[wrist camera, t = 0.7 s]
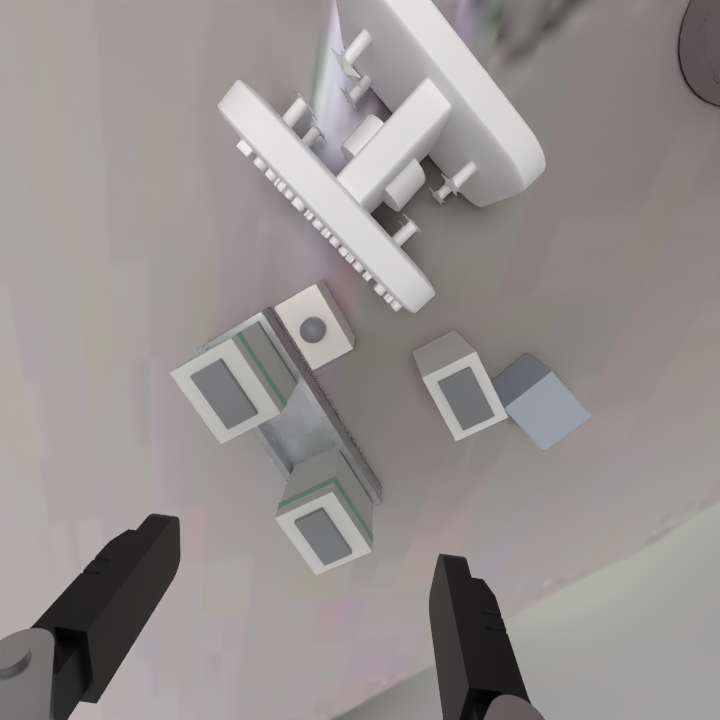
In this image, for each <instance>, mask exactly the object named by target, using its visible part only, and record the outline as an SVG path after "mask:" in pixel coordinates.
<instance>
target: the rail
mask: <svg viewBox="0 0 720 720" xmlns="http://www.w3.org/2000/svg"><path fill="white" fill-rule="evenodd" d="M257 321H259V322H260V324H261V325H262V327H263V329H264V330H265V332H266V333H267V335H268V336H269V338H270V340H271V341H272V343H273V344H274V346H275V347H276V349H277V351H278V352H279V354H280V355H281V357H282V359H283V360H284V362H285V363H286V365H287V366H288V368H289V370H290V371H291V373H292V374H293V376H294V377H295V379H296V381H297V382H298V384H297V385H296V387H295V389H294V391H293V392H292V394H291V396H290V398H289V400H288V401H287V405H286V407H285V408H284V409H283V410H282V412H281V414H279V415H277V416H275V417H273V418H271V419H269V420H267V421H265V422H263V423H261V424H259V425H258V426H256V427H254V428H252V431H253V432H254V433H255V435H256V436H257V438H258V439H259V441H260V442H261V444H262V445H263V446H264V448H265V449H266V451H267V452H268V454H269V455H270V457H271V458H272V459H273V461H274V462H275V464H276V465H277V467H278V468H279V470H280V471H281V472H282V474H283V475H284V477H285V478H286V480H287V481H289V478H290V475H291V473H292V470H293V467H294V466H295V465H297V464H299V463H301V462H304V461H306V460H308V459H310V458H312V457H314V456H316V455H318V454H320V453H322V452H324V451H326V450H328V449H330V448H332V447H334V446H336V445H338V447H339V448H340V450H341V452H342V453H343V455H344V456H345V458H346V459H347V461H348V463H349V464H350V466H351V467H352V469H353V471H354V472H355V474H356V475H357V477H358V478H359V480H360V482H361V483H362V485H363V486H364V488H365V489H366V491H367V493H368V494H369V496H370V497H371V499H372V501H373V502H374V504H375V505H376V506H377V505H379V504H381V503H382V497H381V486H380V484H379V483H378V481H377V480H376V478H375V476H374V475H373V473H372V472H371V470H370V468H369V467H368V465H367V464H366V462H365V460H364V459H363V457H362V455H361V454H360V452H359V451H358V449H357V447H356V446H355V444H354V443H353V441H352V439H351V438H350V436H349V434H348V433H347V431H346V430H345V428H344V426H343V425H342V423H341V422H340V420H339V418H338V417H337V415H336V414H335V412H334V410H333V409H332V407H331V405H330V404H329V402H328V401H327V399H326V397H325V396H324V394H323V393H322V391H321V389H320V388H319V386H318V384H317V383H316V381H315V380H314V378H313V376H312V375H311V373H310V372H309V370H308V368H307V367H306V365H305V363H304V362H303V360H302V359H301V357H300V355H299V354H298V352H297V351H296V349H295V347H294V346H293V344H292V343H291V341H290V339H289V338H288V336H287V334H286V333H285V331H284V330H283V328H282V326H281V325H280V323H279V322H278V320H277V318H276V317H275V315H274V313H273V312H272V310H271V309H270V307H268V308H267V309H265V310H263V311H261V312H260V313H258V314H256V315H255V316H253V317H251V318H249V319H248V320H246V321H244V322H242V323H241V324H239V325H237V326H236V327H234V328H232V329H230V330H229V331H227V332H225V333H223V334H222V335H220V336H218V337H216V338H215V339H213V340H211V341H210V342H208V343H206V344H204V345H203V346H201V347H199V348H197V349H196V350H197V351H198V353H199V354H202V353H203V352H205V351H207V350H208V349H210V348H211V347H213V346H215V345H217V344H218V343H220V342H222V341H224V340H225V339H227V338H229V337H231V336H232V335H234V334H236V333H237V332H239V331H241V330H243V329H244V328H246V327H248V326H250V325H251V324H253V323H255V322H257Z"/></svg>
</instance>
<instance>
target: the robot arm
mask: <svg viewBox="0 0 720 720" xmlns="http://www.w3.org/2000/svg"><path fill="white" fill-rule="evenodd" d="M680 59H681V65H682V70H683V72H684V74H685V77H686V79H687V82H688V83H689V84H690V86H691V87H692V88H693V90H694V91H695V92H696V93H697V94H698V95H699V96H701V97H702V98H703V99H705V100H706V101H708V102H711V103H713V104H716V105H718V106H720V0H692V1H691V3H690V5H689V8H688V10H687V13H686V15H685V18H684V21H683V26H682V30H681V35H680ZM179 562H180V523H179V518H178V517H175V516H168V515H160V514H151V515H149V516H148V517H147V518H146V519H145V521H144V522H143V523H142V524H141V525H140V526H139V528H138V529H137V530H129V529H128V530H127V531H125V532H123V533H122V534H120V535H119V536H117V537H116V538H114V539H113V540H111V541H110V542H109V543H108V544H107V545H106V546H105V547H104V548H103V549H102V550H101V551H100V553H99V554H98V555H97V556H96V557H95V560H92V561H91V562H90V564H89V565H88V566H87V567H86V568H85V569H84V571H83V573H80V575H79V576H78V577H77V578H76V579H75V580H74V581H73V582H72V583H71V584H70V586H69V587H68V588H67V589H66V590H65V591H64V592H63V593H62V594H61V595H60V597H59V598H58V599H57V600H56V601H55V602H54V603H53V604H52V605H51V606H50V608H49V609H48V610H47V611H46V612H45V613H44V614H43V615H42V616H41V617H40V619H39V620H38V621H37V622H36V623H35V624H34V625H33V626H32V627H31V628H30V629H25V630H22V631H19V632H16V633H14V634H11V635H9V636H7V637H5V638H3V639H2V640H0V720H68V718H69V716H70V715H71V713H72V712H73V710H74V709H75V707H76V706H77V704H78V703H79V701H82V702H89V703H96V704H97V702H98V700H99V699H100V697H101V695H102V694H103V692H104V691H105V689H106V687H107V686H108V684H109V682H110V681H111V679H112V678H113V676H114V674H115V673H116V671H117V669H118V668H119V666H120V665H121V663H122V661H123V660H124V658H125V657H126V655H127V653H128V652H129V650H130V648H131V647H132V645H133V644H134V642H135V640H136V639H137V637H138V635H139V634H140V632H141V631H142V629H143V627H144V626H145V624H146V622H147V621H148V619H149V618H150V616H151V614H152V613H153V611H154V610H155V608H156V606H157V605H158V603H159V601H160V600H161V598H162V597H163V595H164V593H165V592H166V590H167V588H168V587H169V585H170V584H171V582H172V580H173V579H174V577H175V575H176V572H177V569H178V566H179ZM429 615H430V623H431V631H432V638H433V646H434V653H435V661H436V668H437V676H438V683H439V691H440V698H441V706H442V713H443V720H545V719H544V718H543V716H542V715H541V714H540V713H539V712H538V711H537V709H536V708H534V707H533V706H532V704H531V702H530V700H529V698H528V695H527V692H526V689H525V686H524V683H523V680H522V677H521V674H520V671H519V668H518V665H517V662H516V658H515V656H514V652H513V649H512V646H511V643H510V640H509V637H508V634H506V628H505V625H504V622H503V619H502V618H501V613H500V610H499V606H498V603H497V600H496V597H495V595H494V594H493V592H492V591H491V590H490V588H489V587H488V586H487V584H486V583H485V581H484V580H483V579H477V578H471V574H470V571H469V567H468V563H467V560H466V558H465V557H460V556H453V555H445V554H439V556H438V560H437V564H436V568H435V573H434V577H433V582H432V586H431V590H430V597H429Z"/></svg>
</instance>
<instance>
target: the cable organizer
mask: <svg viewBox="0 0 720 720" xmlns="http://www.w3.org/2000/svg"><path fill="white" fill-rule="evenodd" d="M336 1H337V8H338V15H339V21H340V28H341V35H342V41H343V45H344V48H345V52H344V54H343V52H342V50H341V56H340V55H339V54H338V53H336V52H335V51H334V50H333V49H332V50H333V52H334V54H335V56H336V58H337V60H338V62H339V64H340V66H341V68H342V70H343V72H344V74H345V75H346V76H347V77H349V78H350V79H351V80H352V81H353V82H354V83H355V84H356V86H355V87H354V88H353V89H352V90H351V92H350V93H348V92H347V90H346V88H345V91H344V90H343V89H341V88H340V89H341V90H342V92H343V94H344V95H345V97H346V99H347V102H349V103H350V104H351V105H352V106H353V107H354V108H355V109H356V107H355V104H357V103H356V102H357V101H358V100H359V99H360V98H361V96H362V95H363V94H364V93H365V92H366V91H367V89H368V88H369V87H371V88H372V89H373V91H374V92H375V93H376V94H377V95H378V97H379V98H380V99H381V100H382V101H383V102H384V104H385V105H386V106H387V107H388V108H389V110H390V111H391V112H392V113H393V114H392V115H391V116H390V118H389V119H388V120H387V121H386V122H385V123H383V122H382V121H381V120H380V119H379V118H377V117H376V116H374V115H368V116H367V118H366V119H365V120H364V121H363V122H362V123H361V124H360V125H359V127H358V128H357V129H356V130H355V131H354V132H353V133H352V135H351V136H350V137H349V138H348V139H347V140H346V141H345V142H344V144H343V145H342V146H341V150H342V152H343V154H344V156H345V158H346V159H347V161H348V162H349V163H348V164H347V165H346V166H345V167H344V169H343V170H342V171H341V172H340V173H339V174H338V175H337V177H335V176H334V174H333V173H332V172H331V171H330V170H329V169H328V168H327V167H326V166H325V165H324V164H323V162H322V161H321V160H320V159H319V158H318V157H317V156H316V155H315V154H314V153H313V152H312V150H311V149H310V148H309V147H310V146H311V145H312V144H313V143H314V142H315V140H316V139H317V138H318V137H319V136H321V137H322V138H323V139H324V140H325V138H324V136H323V134H322V132H321V131H320V130H319V129H318V128H317V127H316V126H315V125H314V124H312V123H310V124H311V125H312V126H313V127H312V128H311V129H310V130H309V131H308V133H307V134H306V135H305V136H304V137H303V138H302V140H301V138H300V137H299V136H298V135H297V134H296V133H295V132H294V131H293V130H292V129H291V128H292V127H293V126H294V125H295V124H296V122H297V121H298V120H299V119H300V118H301V116H302V115H303V114H304V113H305V112H306V110H308V111H310V113H311V114H312V115H313V116H314V117H315V115H314V114H313V112H312V111H313V110H312V109H311V107H310V106H309V104H308V103H307V101H306V100H305V99H304V98H303V97H302V96H301V95H300V94H299V93H298V95H297V94H296V93H295V92H294V93H295V94H296V95H297V97H298V99H297V100H296V101H295V102H294V104H293V105H292V106H291V107H290V108H289V110H288V111H287V112H286V113H285V115H284V116H283V117H282V118H281V117H280V116H279V114H278V113H277V112H276V111H275V110H274V109H273V108H272V107H271V106H270V105H269V104H268V103H267V102H266V101H265V100H264V99H263V98H262V97H261V96H260V95H259V94H258V93H257V92H256V91H254V90H253V89H252V88H251V87H250V86H248V85H247V84H246V83H244V82H243V81H241V80H237V81H236V82H235V83H234V85H233V86H232V87H231V89H230V90H229V91H228V93H227V94H226V95H225V96H224V98H223V99H222V100H221V102H220V103H219V104H218V108H219V110H220V112H221V114H222V115H223V117H224V118H225V120H226V121H227V122H228V124H229V125H230V126H231V128H232V129H233V130H234V131H235V132H236V134H237V135H238V136H239V137H240V138H241V139H242V140H241V141H240V142H239V144H238V145H237V147H238V148H239V149H240V150H241V151H242V152H243V153H244V154H245V155H246V156H247V157H250V158H251V159H254V158H255V156H256V155H257V158H256V159H255V160H254V161H253V163H254V164H255V165H256V166H257V167H258V168H259V169H260V170H262V171H263V172H264V173H265V172H266V173H265V175H266V176H267V177H268V178H269V179H270V180H271V181H272V182H273V183H274V185H275V186H276V187H277V188H278V189H279V191H280V192H282V193H283V194H284V195H285V196H286V197H287V198H288V199H289V200H290V201H292V202H291V203H292V204H293V205H294V206H295V207H296V208H297V209H298V210H299V211H300V212H302V211H303V210H304V209H305V208H307V209H308V210H307V212H306V213H305V214H304V216H305V217H306V218H307V219H308V220H309V221H310V219H311V218H312V217H313V216H314V217H315V218H316V219H315V220H314V221H313V222H312V224H313V225H314V226H315V227H316V228H317V229H318V230H319V231H320V232H321V231H322V232H321V234H322V235H323V236H324V237H325V238H328V239H329V238H330V237H331V236H332V235H333V236H332V237H331V238H330V239H329V242H330V243H331V244H332V245H333V246H334V247H335V248H337V247H338V246H339V245H340V244H341V245H342V246H341V248H340V249H339V250H338V251H339V252H340V253H341V254H342V255H343V256H344V257H345V256H346V255H347V254H348V253H349V254H348V255H347V256H346V257H345V259H346V260H347V261H348V262H349V263H352V262H353V261H354V260H356V261H355V262H354V263H353V264H352V265H353V267H354V268H355V269H356V270H357V271H358V272H359V273H361V272H362V271H363V270H364V269H365V270H366V272H365V273H364V274H363V277H364V278H365V279H366V280H367V281H368V280H369V279H370V278H371V277H372V278H373V279H374V280H375V281H376V282H377V284H376V285H375V286H374V290H375V291H376V292H377V293H378V294H379V295H380V296H382V295H383V294H384V293H385V292H386V293H385V294H384V295H383V298H384V299H385V300H386V301H387V302H388V303H389V304H390V305H391V306H392V308H393V309H394V310H395V311H398V310H399V309H400V308H401V307H402V306H403V307H404V308H406V309H407V310H408V311H410V312H412V313H416V312H417V311H418V310H419V309H420V308H421V307H423V306H424V305H425V304H426V303H427V302H428V301H429V300H430V299H431V298H432V297H433V296H434V295H435V291H434V289H433V287H432V285H431V283H430V282H429V280H428V279H427V278H426V276H425V275H424V274H423V272H422V271H421V270H420V269H419V268H418V266H417V265H416V264H415V263H414V262H413V261H412V260H411V258H410V257H409V256H408V255H407V254H406V253H405V252H404V251H403V250H402V249H401V248H400V246H401V245H402V244H403V243H404V242H405V241H406V240H407V239H408V238H409V237H410V236H411V235H412V234H413V233H414V232H415V231H417V232H418V231H419V232H421V231H420V229H419V228H418V226H417V225H416V224H415V222H414V221H413V220H411V219H409V218H408V217H407V216H406V215H404V214H403V215H404V216H405V217H406V219H407V220H408V221H407V222H408V223H407V224H406V225H404V224H402V223H401V222H400V221H399V223H400V224H401V228H400V229H399V230H398V231H397V232H396V233H395V235H394V236H393V237H392V238H391V237H390V236H389V234H388V233H387V232H386V231H385V230H384V229H383V228H382V227H381V226H380V225H379V224H378V222H377V221H376V220H375V219H374V218H373V217H372V216H371V215H370V214H371V213H372V212H373V211H374V210H375V209H376V208H377V207H378V206H379V205H380V204H381V203H382V202H384V203H386V204H387V205H388V206H389V207H390V208H392V209H393V210H395V211H397V212H399V211H400V210H401V209H402V208H403V207H404V205H405V204H406V203H407V202H408V201H409V200H410V199H411V198H412V196H413V195H414V194H415V193H416V192H417V191H418V190H419V188H420V187H421V186H422V185H423V184H424V183H425V174H424V172H423V170H422V168H421V166H420V164H419V163H420V162H421V161H422V160H423V159H424V158H425V157H426V156H427V154H428V156H429V157H430V158H431V159H432V160H433V161H434V163H435V164H436V165H437V166H438V167H439V168H440V170H441V171H442V172H443V173H444V174H445V176H446V177H445V176H444V175H443V174H442V173H441V174H442V176H443V178H444V179H445V181H446V182H445V184H444V185H443V186H442V187H441V188H440V189H439V190H438V191H435V192H434V191H433V190H432V189H431V188H430V187H429V188H430V190H431V192H432V196H433V197H434V198H435V199H436V200H437V201H438V202H439V203H440V204H441V205H442V202H444V201H443V199H444V198H445V197H446V196H447V195H448V194H449V193H450V192H451V191H452V192H453V193H454V194H455V195H456V196H457V192H460V193H461V194H462V195H463V196H464V197H465V198H466V199H468V200H469V201H470V202H471V203H473V204H474V205H476V206H478V207H484V206H487V205H490V204H492V203H495V202H498V201H500V200H503V199H506V198H508V197H511V196H514V195H516V194H519V193H522V192H523V191H524V190H526V189H527V188H528V187H529V186H530V185H531V184H532V183H533V182H534V181H535V180H536V179H537V178H538V177H539V176H540V175H541V174H542V173H543V172H544V171H545V167H546V161H545V157H544V153H543V151H542V148H541V146H540V144H539V142H538V140H537V138H536V137H535V135H534V133H533V132H532V131H531V129H530V128H529V126H528V125H527V124H526V122H525V121H524V120H523V119H522V117H521V116H520V115H519V113H518V112H517V111H516V110H515V108H514V107H513V106H512V104H511V103H510V102H509V100H508V99H507V98H506V97H505V95H504V94H503V93H502V91H501V90H500V89H499V88H498V86H497V85H496V84H495V82H494V81H493V80H492V79H491V77H490V76H489V75H488V73H487V72H486V71H485V69H484V68H483V67H482V66H481V64H480V63H479V62H478V60H477V59H476V58H475V57H474V55H473V54H472V53H471V51H470V50H469V49H468V47H467V46H466V45H465V44H464V42H463V41H462V40H461V38H460V37H459V36H458V35H457V33H456V32H455V31H454V29H453V28H452V27H451V25H450V24H449V23H448V22H447V20H446V19H445V18H444V16H443V15H442V14H441V13H440V11H439V10H438V9H437V7H436V6H435V5H434V4H433V2H432V1H431V0H336ZM353 65H354V66H355V68H356V69H357V71H358V72H359V74H360V75H361V76H362V77H363V78H362V79H361V80H360V81H358V79H357V78H361V77H360V76H359V75H358V73H357V72H356V71H355V70H354V69H353V68H352V66H353ZM356 110H357V109H356ZM315 118H316V117H315ZM316 120H317V119H316ZM325 141H326V140H325ZM326 143H327V142H326ZM268 168H269V169H268ZM444 203H445V202H444ZM419 232H418V233H419ZM421 233H422V232H421ZM412 236H413V235H412Z"/></svg>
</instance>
